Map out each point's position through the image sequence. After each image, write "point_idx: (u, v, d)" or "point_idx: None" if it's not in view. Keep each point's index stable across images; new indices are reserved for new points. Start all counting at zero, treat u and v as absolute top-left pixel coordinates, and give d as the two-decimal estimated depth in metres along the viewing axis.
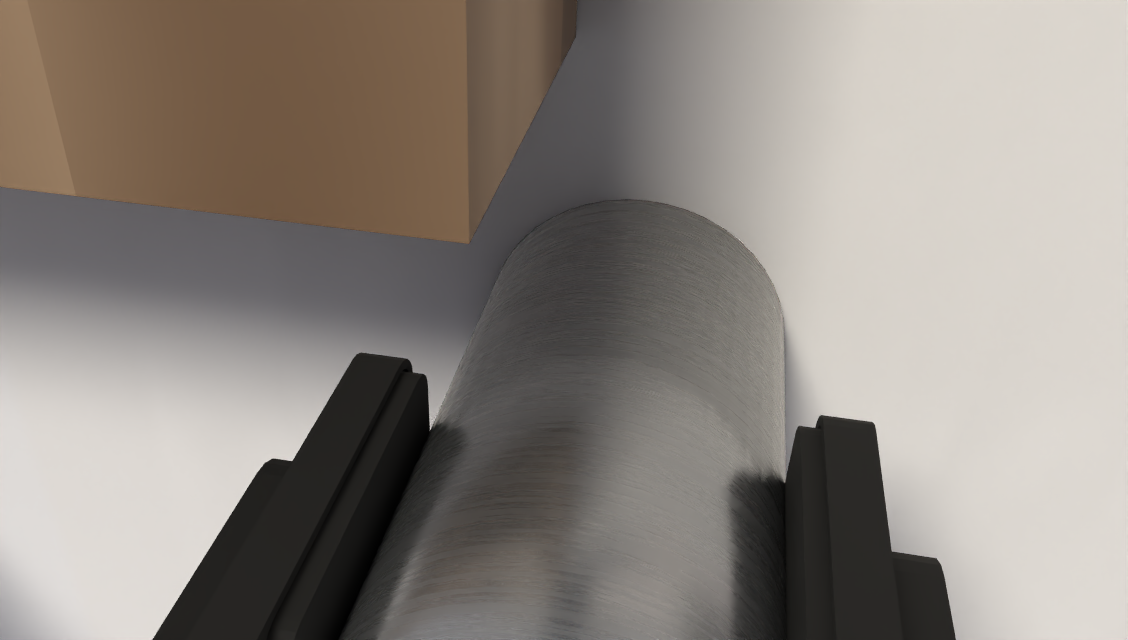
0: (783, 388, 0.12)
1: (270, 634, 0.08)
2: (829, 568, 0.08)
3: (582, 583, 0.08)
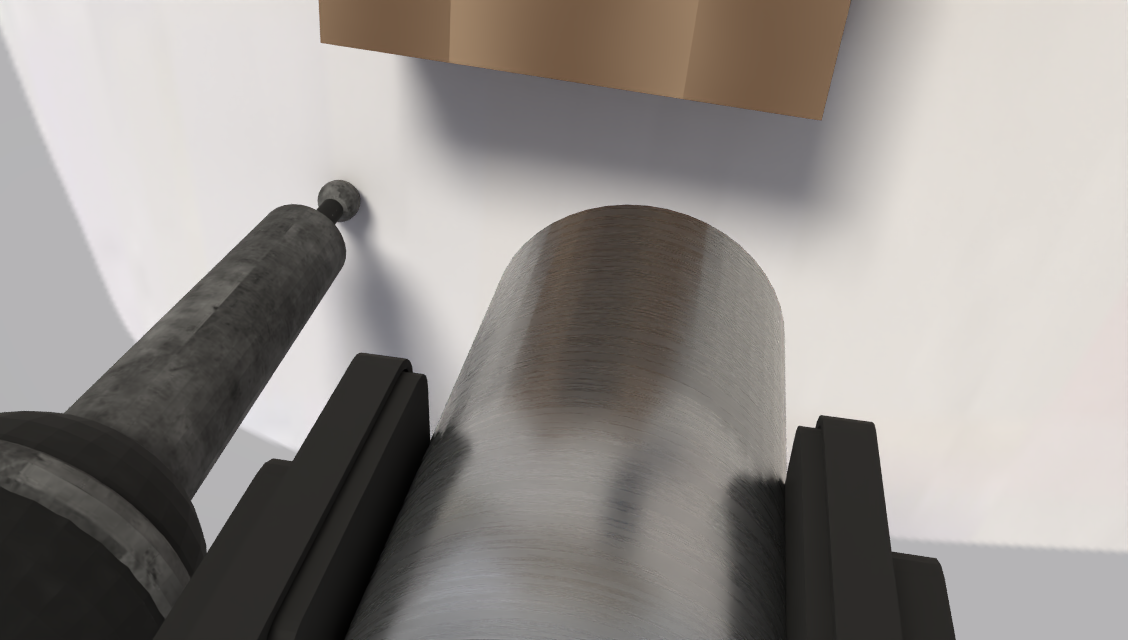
0: (784, 393, 0.12)
1: (270, 634, 0.08)
2: (829, 568, 0.08)
3: (585, 589, 0.08)
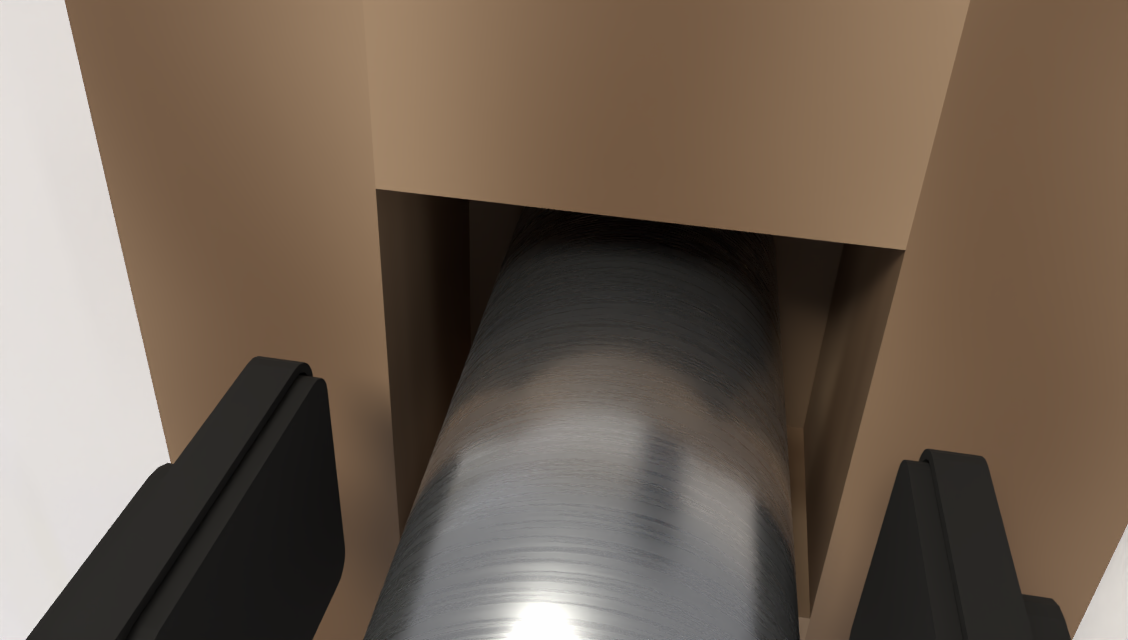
0: (778, 304, 0.14)
1: None
2: (959, 615, 0.08)
3: (626, 436, 0.09)
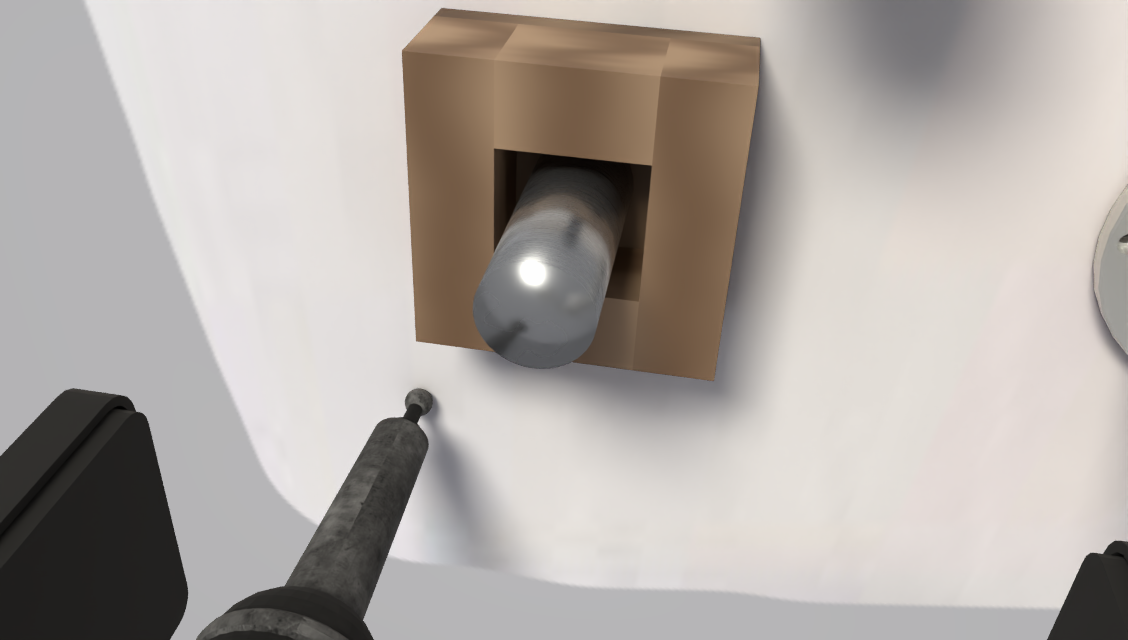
0: (627, 191, 0.39)
1: None
2: None
3: (561, 209, 0.34)
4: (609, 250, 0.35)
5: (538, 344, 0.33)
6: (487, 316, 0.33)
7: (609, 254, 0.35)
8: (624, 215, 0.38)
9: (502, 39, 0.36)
